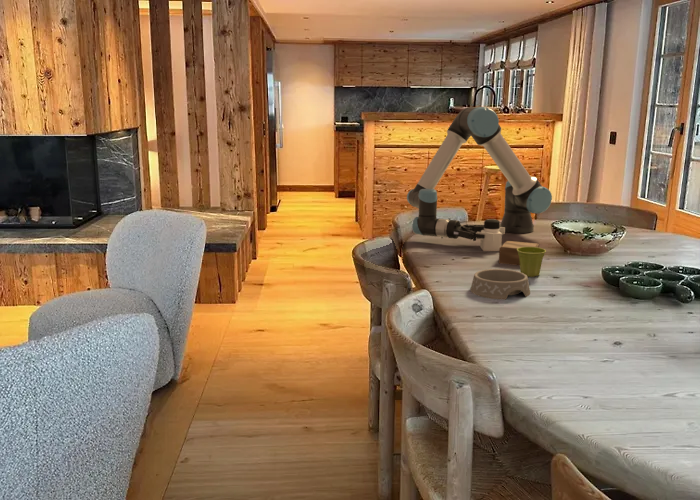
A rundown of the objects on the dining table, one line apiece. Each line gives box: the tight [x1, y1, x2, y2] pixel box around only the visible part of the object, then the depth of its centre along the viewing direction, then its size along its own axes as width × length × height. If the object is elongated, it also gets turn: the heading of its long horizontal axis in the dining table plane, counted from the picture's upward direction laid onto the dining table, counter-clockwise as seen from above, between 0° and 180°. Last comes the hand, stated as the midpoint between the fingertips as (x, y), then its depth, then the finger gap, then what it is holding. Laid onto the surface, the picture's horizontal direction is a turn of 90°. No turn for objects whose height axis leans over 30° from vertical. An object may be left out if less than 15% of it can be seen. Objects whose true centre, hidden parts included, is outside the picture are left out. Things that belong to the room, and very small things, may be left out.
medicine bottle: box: [479, 218, 503, 252], centre depth 247 cm, size 7×7×12 cm
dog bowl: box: [470, 268, 531, 301], centre depth 192 cm, size 17×18×5 cm
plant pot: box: [517, 247, 547, 278], centre depth 210 cm, size 9×9×9 cm
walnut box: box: [498, 240, 540, 266], centre depth 228 cm, size 12×12×6 cm
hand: (499, 233), depth 245 cm, fingers open, 13 cm apart
